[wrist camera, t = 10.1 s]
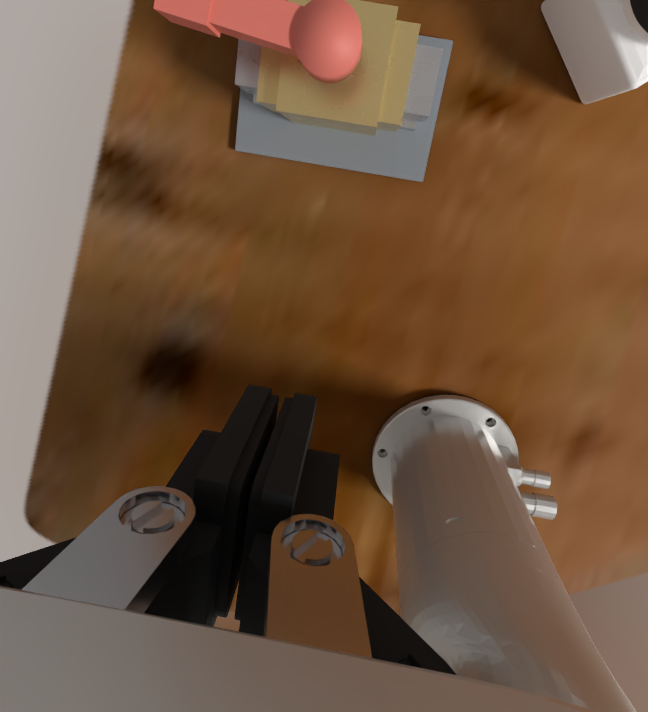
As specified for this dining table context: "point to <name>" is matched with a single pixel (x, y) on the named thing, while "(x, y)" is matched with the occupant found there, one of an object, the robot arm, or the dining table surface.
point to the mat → (343, 136)
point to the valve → (350, 78)
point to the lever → (281, 29)
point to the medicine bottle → (601, 44)
